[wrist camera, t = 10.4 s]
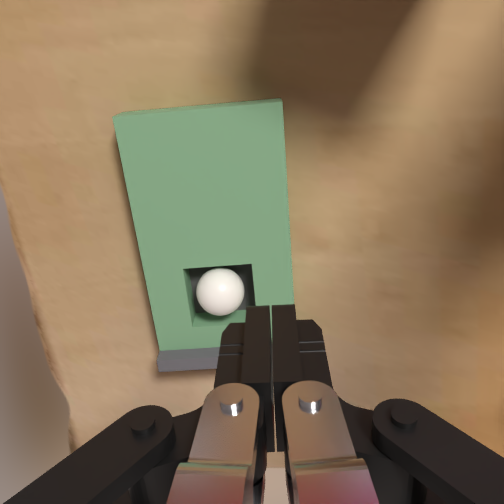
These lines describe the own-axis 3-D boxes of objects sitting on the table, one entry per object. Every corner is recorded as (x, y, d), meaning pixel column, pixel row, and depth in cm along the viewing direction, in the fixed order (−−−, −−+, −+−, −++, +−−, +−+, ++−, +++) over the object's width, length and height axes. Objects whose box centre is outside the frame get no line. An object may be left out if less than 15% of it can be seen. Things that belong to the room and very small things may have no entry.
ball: (201, 320, 40) (199, 275, 41) (247, 316, 40) (244, 271, 41) (193, 313, 36) (191, 264, 37) (244, 309, 36) (240, 259, 37)
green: (122, 112, 35) (66, 138, 25) (280, 97, 34) (289, 119, 24) (168, 349, 44) (140, 439, 34) (295, 341, 43) (305, 430, 33)
